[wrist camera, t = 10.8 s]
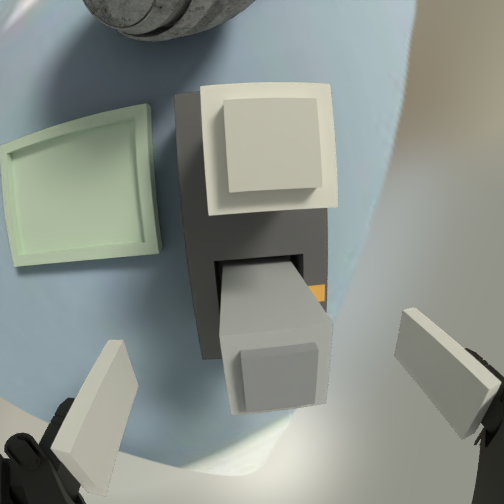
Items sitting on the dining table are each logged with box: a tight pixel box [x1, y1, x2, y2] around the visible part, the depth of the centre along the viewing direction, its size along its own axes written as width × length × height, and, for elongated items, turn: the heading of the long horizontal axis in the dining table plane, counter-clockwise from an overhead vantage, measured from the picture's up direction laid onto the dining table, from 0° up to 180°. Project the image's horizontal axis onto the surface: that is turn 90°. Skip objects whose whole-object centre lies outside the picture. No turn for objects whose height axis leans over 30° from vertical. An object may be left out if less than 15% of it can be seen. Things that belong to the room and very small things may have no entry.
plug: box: [219, 255, 333, 415], centre depth 17 cm, size 4×4×13 cm
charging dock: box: [174, 82, 338, 360], centre depth 17 cm, size 9×18×15 cm, turn 4°
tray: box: [0, 103, 163, 267], centre depth 21 cm, size 16×12×2 cm
